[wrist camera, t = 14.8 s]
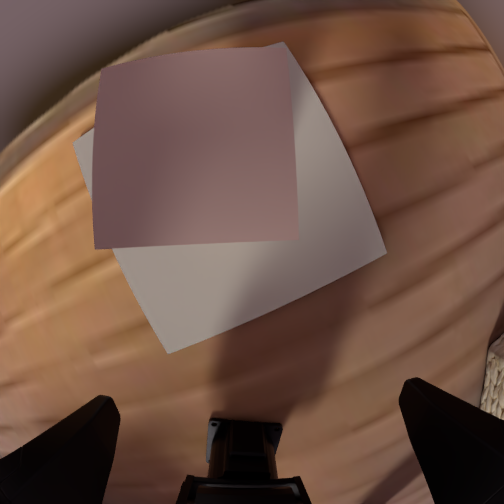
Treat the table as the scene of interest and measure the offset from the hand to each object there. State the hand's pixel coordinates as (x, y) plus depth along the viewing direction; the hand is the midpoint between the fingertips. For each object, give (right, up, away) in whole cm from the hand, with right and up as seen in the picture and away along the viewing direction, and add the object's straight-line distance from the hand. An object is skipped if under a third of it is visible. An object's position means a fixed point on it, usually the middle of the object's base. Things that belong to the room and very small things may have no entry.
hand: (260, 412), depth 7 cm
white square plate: (-2, +9, +12) cm, 15 cm away
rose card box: (-2, +9, +11) cm, 15 cm away
